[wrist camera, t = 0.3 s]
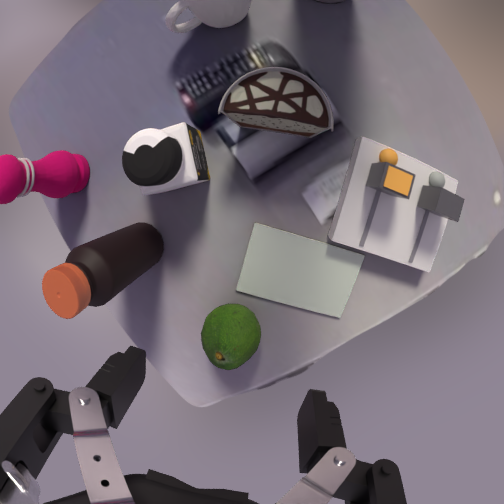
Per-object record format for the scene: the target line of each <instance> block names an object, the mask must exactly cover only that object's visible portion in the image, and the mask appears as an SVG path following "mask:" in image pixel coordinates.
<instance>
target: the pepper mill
mask: <svg viewBox="0 0 504 504" xmlns="http://www.w3.org/2000/svg"><path fill="white" fill-rule="evenodd" d="M89 175H90V168H89V164H88V162H87V160H86V159H85V158H84V157H83V156H82V155H79V154H71V153H70V152H67V151H55V152H52V153H50V154H48V155H47V156H45V157H44V158H42V159H40V160H38V161H30V160H29V159H27V158H18V159H17V158H16V157H15V156H13V155H7V154H6V155H2V156H0V204H7V203H10V202H12V201H13V200H14V199H15V198H16V197H23V196H26V195H28V194H29V193H30V192H32V191H33V192H34V191H36V192H40V193H42V194H44V195H46V196H48V197H51V198H63V197H66V196H67V195H69V194H70V193H76V192H79V191H81V190H82V189H83V188H84V187H85V186H86V184H87V182H88V180H89Z"/></svg>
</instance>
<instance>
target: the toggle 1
mask: <svg viewBox="0 0 504 504" xmlns="http://www.w3.org/2000/svg"><path fill="white" fill-rule="evenodd" d="M415 176H416V175H415V174H413V173H411V172H409V171H406V170H404V169H402V168H400V167H397V166H395V165H393V164H390V163H388V162H379V163H372V164H371V168H370V171H369V175H368V179H367V182H366V186H368V187H370V188H373V189H376V190H378V191H381V192H383V193H386V194H388V195H391V196H394V197H399V198H404V199H409V198H410V194H411V191H412V187H413V183H414V180H415Z"/></svg>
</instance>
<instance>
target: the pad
mask: <svg viewBox="0 0 504 504" xmlns="http://www.w3.org/2000/svg"><path fill="white" fill-rule="evenodd" d="M364 257H365V255H363V254H360V253H356V252H353V251H350V250H347V249H343V248H340V247H337V246H334V245H330V244H327V243H324V242H321V241H317V240H314V239H311V238H307V237H304V236H300V235H297V234H294V233H290V232H287V231H283V230H280V229H277V228H273V227H270V226H266V225H263V224H259V223H256V222H255V224H254V227H253V231H252V234H251V238H250V242H249V245H248V249H247V252H246V256H245V260H244V263H243V267H242V270H241V274H240V278H239V281H238V285H237V288H236V290H237V291H240V292H244V293H247V294H251V295H254V296H258V297H261V298H265V299H269V300H272V301H276V302H280V303H284V304H287V305H291V306H295V307H299V308H303V309H306V310H310V311H314V312H318V313H322V314H326V315H330V316H334V317H338V318H340V317H341V315H342V313H343V310H344V308H345V306H346V303H347V301H348V298H349V296H350V293H351V291H352V288H353V286H354V283H355V281H356V278H357V276H358V273H359V270H360V268H361V265H362V262H363V259H364Z"/></svg>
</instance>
